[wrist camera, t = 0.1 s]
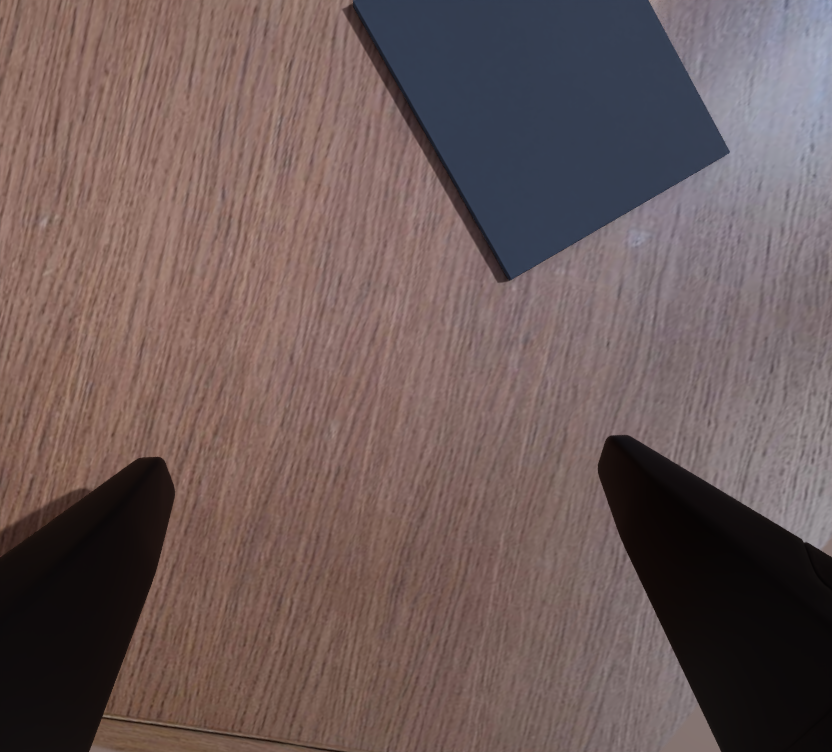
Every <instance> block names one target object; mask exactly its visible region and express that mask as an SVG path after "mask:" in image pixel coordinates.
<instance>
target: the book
mask: <svg viewBox="0 0 832 752" xmlns="http://www.w3.org/2000/svg"><path fill="white" fill-rule="evenodd" d="M353 7H354V9H355V11H356V12H357V14H358V16H359V18H360V19H361V21H362V23H363V25H364V26H365V28H366V30H367V32H368V34H369V35H370V37H371V39H372V41H373V42H374V44H375V46H376V48H377V49H378V51H379V53H380V55H381V56H382V58H383V60H384V62H385V63H386V65H387V67H388V69H389V70H390V72H391V74H392V76H393V77H394V79H395V81H396V83H397V85H398V86H399V88H400V90H401V92H402V93H403V95H404V97H405V99H406V100H407V102H408V104H409V106H410V107H411V109H412V111H413V113H414V114H415V116H416V118H417V120H418V121H419V123H420V125H421V127H422V128H423V130H424V132H425V134H426V136H427V137H428V139H429V141H430V143H431V144H432V146H433V148H434V150H435V151H436V153H437V155H438V157H439V158H440V160H441V162H442V164H443V165H444V167H445V169H446V171H447V172H448V174H449V176H450V178H451V179H452V181H453V183H454V185H455V187H456V188H457V190H458V192H459V194H460V195H461V197H462V199H463V201H464V202H465V204H466V206H467V208H468V209H469V211H470V213H471V215H472V216H473V218H474V220H475V222H476V223H477V225H478V227H479V229H480V230H481V232H482V234H483V236H484V238H485V239H486V241H487V243H488V245H489V246H490V248H491V250H492V252H493V253H494V255H495V257H496V259H497V260H498V262H499V264H500V266H501V267H502V269H503V271H504V273H505V274H506V276H507V278H508V280H509V281H510V280H512V279H514V278H515V277H517V276H519V275H520V274H522V273H524V272H526V271H527V270H529V269H531V268H532V267H534V266H536V265H538V264H539V263H541V262H543V261H545V260H546V259H548V258H550V257H551V256H553V255H555V254H557V253H558V252H560V251H562V250H563V249H565V248H567V247H569V246H570V245H572V244H574V243H576V242H577V241H579V240H581V239H582V238H584V237H586V236H588V235H589V234H591V233H593V232H594V231H596V230H598V229H600V228H601V227H603V226H605V225H607V224H608V223H610V222H612V221H613V220H615V219H617V218H619V217H620V216H622V215H624V214H626V213H627V212H629V211H631V210H632V209H634V208H636V207H638V206H639V205H641V204H643V203H644V202H646V201H648V200H650V199H651V198H653V197H655V196H657V195H658V194H660V193H662V192H663V191H665V190H667V189H669V188H670V187H672V186H674V185H675V184H677V183H679V182H681V181H682V180H684V179H686V178H688V177H689V176H691V175H693V174H694V173H696V172H698V171H700V170H701V169H703V168H705V167H706V166H708V165H710V164H712V163H713V162H715V161H717V160H719V159H720V158H722V157H724V156H725V155H727V154H729V153H730V151H729V149H728V147H727V146H726V144H725V142H724V140H723V138H722V136H721V134H720V133H719V131H718V129H717V127H716V125H715V123H714V121H713V120H712V118H711V116H710V114H709V112H708V110H707V108H706V107H705V105H704V103H703V101H702V99H701V97H700V95H699V94H698V92H697V90H696V88H695V86H694V84H693V82H692V81H691V79H690V77H689V75H688V73H687V71H686V69H685V68H684V66H683V64H682V62H681V60H680V58H679V56H678V55H677V53H676V51H675V49H674V47H673V45H672V43H671V42H670V40H669V38H668V36H667V34H666V32H665V30H664V29H663V27H662V25H661V23H660V21H659V19H658V17H657V15H656V14H655V12H654V10H653V8H652V6H651V4H650V2H649V1H648V0H353Z"/></svg>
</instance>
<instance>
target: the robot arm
mask: <svg viewBox="0 0 832 752" xmlns="http://www.w3.org/2000/svg"><path fill="white" fill-rule="evenodd" d="M598 474H599V478H600V481H601V483H602V486H603V489H604V492H605V495H606V498H607V501H608V504H609V506H610V509H611V512H612V515H613V518H614V521H615V524H616V527H617V529H618V532H619V535H620V537H621V540H622V542H623V544H624V547H625V549H626V551H627V553H628V555H629V558H630V560H631V562H632V564H633V566H634V568H635V570H636V572H637V574H638V577H639V579H640V581H641V583H642V585H643V587H644V589H645V591H646V593H647V596H648V598H649V600H650V602H651V604H652V606H653V608H654V610H655V613H656V615H657V617H658V619H659V621H660V623H661V625H662V627H663V629H664V632H665V634H666V636H667V638H668V640H669V642H670V644H671V646H672V648H673V651H674V653H675V655H676V657H677V659H678V661H679V663H680V665H681V668H682V670H683V672H684V674H685V676H686V678H687V680H688V682H689V684H690V687H691V689H692V691H693V693H694V695H695V697H696V699H697V701H698V703H699V706H700V708H701V710H702V712H703V714H704V716H705V718H706V720H707V722H708V724H709V727H710V729H711V731H712V733H713V735H714V737H715V739H716V742H717V744H718V746H719V748H720V750H721V752H832V557H831V556H829V555H827V554H826V553H824V552H822V551H821V550H819V549H817V548H816V547H814V546H812V545H811V544H809V543H807V542H805V543H804V542H803V540H802V539H801V538H799V537H797V536H796V535H794V534H792V533H791V532H789V531H787V530H786V529H784V528H782V527H781V526H779V525H777V524H776V523H774V522H772V521H771V520H769V519H767V518H766V517H764V516H762V515H761V514H759V513H757V512H756V511H754V510H752V509H751V508H749V507H747V506H746V505H744V504H742V503H741V502H739V501H737V500H736V499H734V498H732V497H731V496H729V495H727V494H726V493H724V492H722V491H721V490H719V489H717V488H716V487H714V486H712V485H711V484H709V483H707V482H706V481H704V480H702V479H701V478H699V477H697V476H696V475H694V474H692V473H691V472H689V471H687V470H686V469H684V468H682V467H681V466H679V465H677V464H676V463H674V462H672V461H671V460H669V459H667V458H666V457H664V456H662V455H661V454H659V453H657V452H656V451H654V450H652V449H651V448H649V447H647V446H646V445H644V444H642V443H641V442H639V441H637V440H636V439H634V438H632V437H631V436H628V435H613V436H609V437H608V438H607V439H606V441H605V444H604V447H603V450H602V453H601V457H600V460H599V463H598ZM174 497H175V489H174V485H173V482H172V479H171V476H170V474H169V471H168V468H167V466H166V463H165V461H164V460H163V458H161V457H143V458H138V459H137V460H135V461H133V462H132V463H131V464H129V465H128V466H127V467H125V468H124V469H122V470H121V471H120V472H118V473H117V474H115V475H114V476H113V477H111V478H110V479H109V480H107V481H106V482H104V483H103V484H102V485H100V486H99V487H97V488H96V489H95V490H93V491H92V492H91V493H89V494H88V495H86V496H85V497H84V498H82V499H81V500H79V501H78V502H77V503H75V504H74V505H73V506H71V507H70V508H68V509H67V510H66V511H64V512H63V513H61V514H60V515H59V516H57V517H56V518H55V519H53V520H52V521H50V522H49V523H48V524H46V525H45V526H43V527H42V528H41V529H39V530H38V531H37V532H35V533H34V534H32V535H31V536H30V537H28V538H27V539H25V540H24V541H23V542H21V543H20V544H19V545H17V546H16V547H14V548H13V549H12V550H10V551H9V552H7V553H6V554H5V555H3V556H2V557H1V558H0V752H89V750H90V748H91V745H92V743H93V740H94V737H95V735H96V732H97V729H98V727H99V724H100V721H101V719H102V716H103V713H104V710H105V708H106V705H107V702H108V700H109V697H110V694H111V692H112V689H113V686H114V684H115V681H116V678H117V676H118V673H119V670H120V668H121V665H122V662H123V659H124V657H125V654H126V651H127V649H128V646H129V643H130V641H131V638H132V635H133V633H134V630H135V627H136V625H137V622H138V619H139V617H140V614H141V611H142V608H143V606H144V603H145V600H146V598H147V595H148V592H149V590H150V587H151V584H152V581H153V579H154V576H155V573H156V569H157V566H158V562H159V558H160V554H161V550H162V546H163V542H164V538H165V534H166V530H167V526H168V522H169V518H170V514H171V510H172V506H173V502H174Z"/></svg>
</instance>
